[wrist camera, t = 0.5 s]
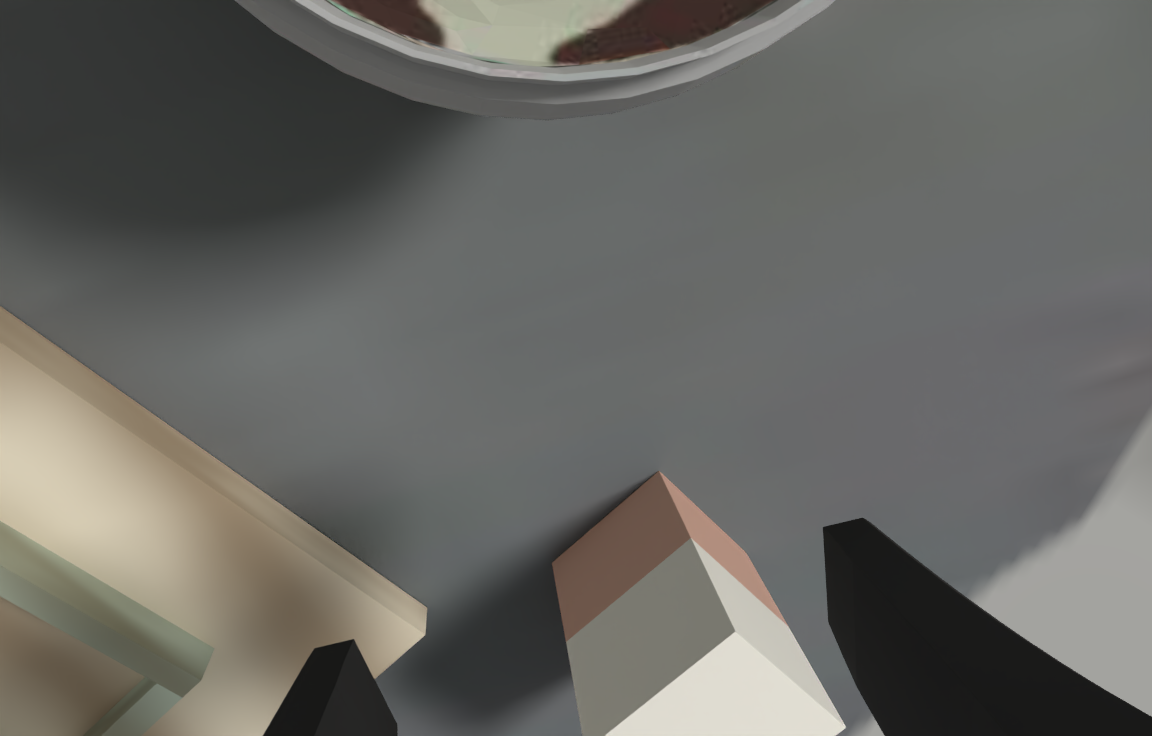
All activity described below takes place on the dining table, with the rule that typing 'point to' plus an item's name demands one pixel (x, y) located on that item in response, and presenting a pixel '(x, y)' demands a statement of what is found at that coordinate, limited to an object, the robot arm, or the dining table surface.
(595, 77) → the food container
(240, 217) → the dining table surface
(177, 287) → the dining table surface
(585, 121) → the dining table surface
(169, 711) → the board
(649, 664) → the white brown rectangular block
